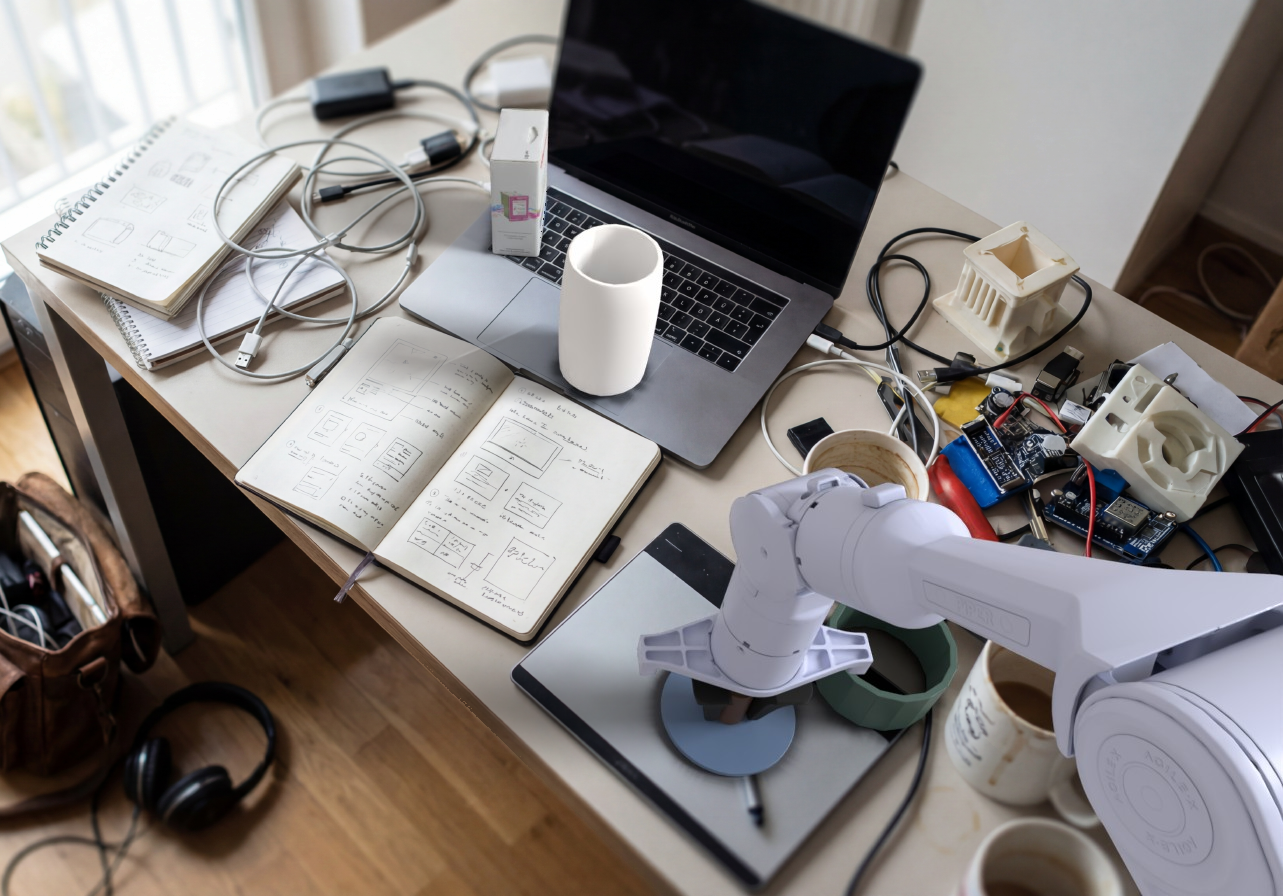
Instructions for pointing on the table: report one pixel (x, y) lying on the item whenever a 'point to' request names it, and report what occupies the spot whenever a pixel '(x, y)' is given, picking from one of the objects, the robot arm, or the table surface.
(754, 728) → the lid
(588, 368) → the cup
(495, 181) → the ink box
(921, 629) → the container
